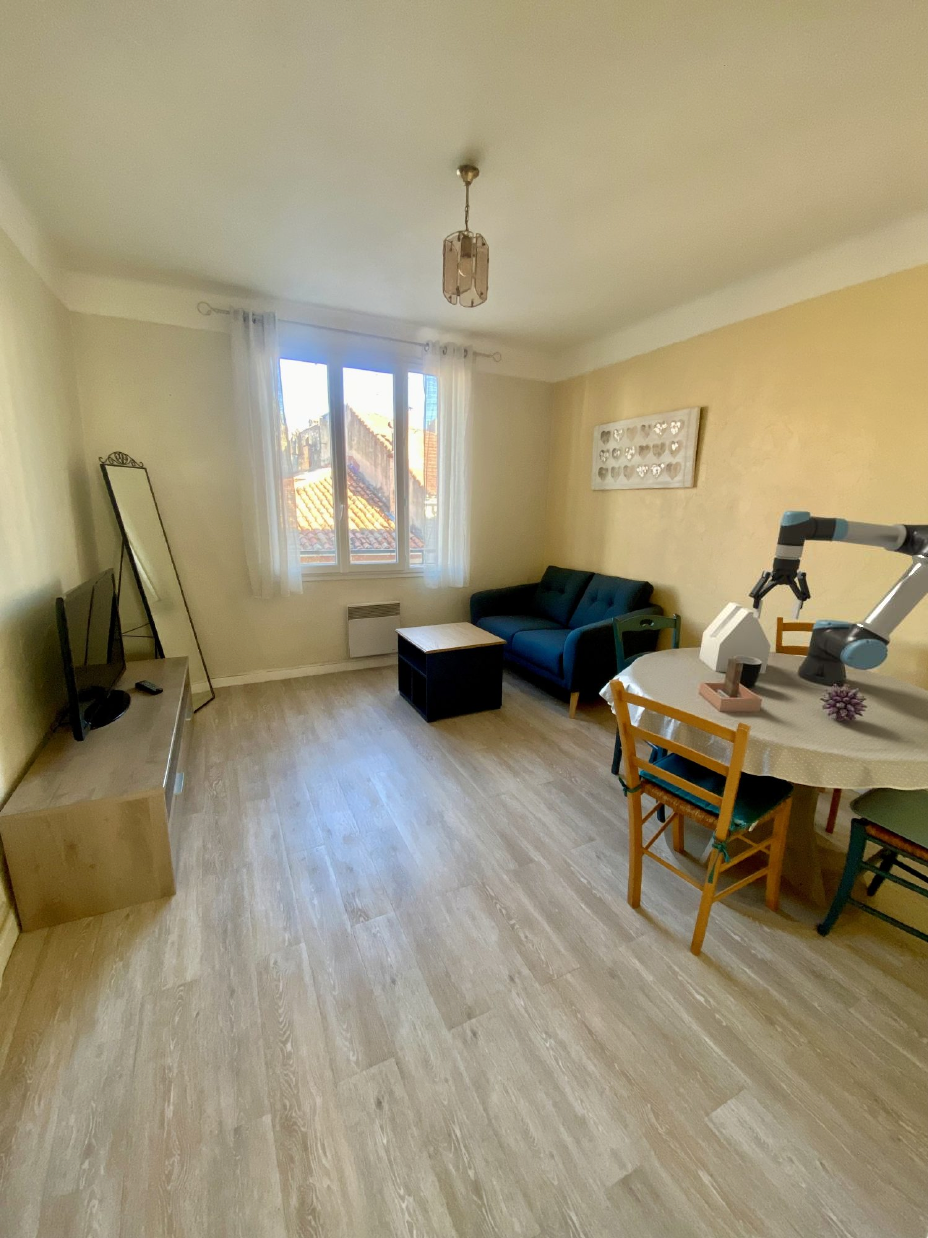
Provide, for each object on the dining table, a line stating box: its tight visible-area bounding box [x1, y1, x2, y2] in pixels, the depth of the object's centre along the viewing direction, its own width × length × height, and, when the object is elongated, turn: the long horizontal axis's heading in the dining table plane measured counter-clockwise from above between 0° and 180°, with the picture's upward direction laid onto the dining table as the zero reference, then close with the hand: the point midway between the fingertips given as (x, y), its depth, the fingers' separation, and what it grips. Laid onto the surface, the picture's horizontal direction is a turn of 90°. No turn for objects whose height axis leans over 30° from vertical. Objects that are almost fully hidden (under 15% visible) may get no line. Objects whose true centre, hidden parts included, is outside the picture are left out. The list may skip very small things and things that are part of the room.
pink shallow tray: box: [698, 681, 763, 713], centre depth 161 cm, size 13×13×4 cm
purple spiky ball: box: [819, 683, 868, 722], centre depth 149 cm, size 12×12×12 cm
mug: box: [734, 656, 762, 690], centre depth 176 cm, size 12×9×10 cm
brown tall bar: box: [723, 658, 743, 698], centre depth 160 cm, size 2×4×14 cm, turn 1°
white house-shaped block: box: [698, 601, 771, 674], centre depth 193 cm, size 19×15×25 cm
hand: (775, 618), depth 167 cm, fingers open, 13 cm apart
